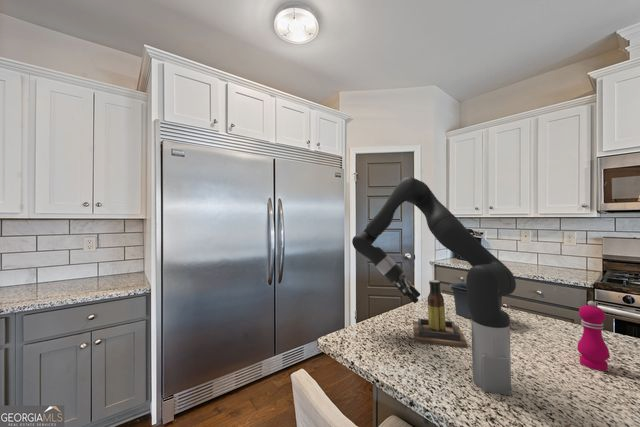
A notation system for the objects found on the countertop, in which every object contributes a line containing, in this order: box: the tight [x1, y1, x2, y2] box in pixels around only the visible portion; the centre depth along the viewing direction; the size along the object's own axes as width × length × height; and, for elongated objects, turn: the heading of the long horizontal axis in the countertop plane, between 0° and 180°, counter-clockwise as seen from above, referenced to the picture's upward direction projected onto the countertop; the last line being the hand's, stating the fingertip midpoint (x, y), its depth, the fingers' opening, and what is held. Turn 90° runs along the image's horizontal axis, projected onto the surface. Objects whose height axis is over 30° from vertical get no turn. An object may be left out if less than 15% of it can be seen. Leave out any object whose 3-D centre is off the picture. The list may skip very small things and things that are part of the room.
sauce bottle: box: [427, 279, 446, 333], centre depth 111 cm, size 6×6×20 cm
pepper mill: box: [576, 300, 610, 371], centre depth 87 cm, size 7×7×20 cm
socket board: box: [412, 318, 468, 349], centre depth 110 cm, size 18×18×4 cm
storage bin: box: [449, 281, 503, 319], centre depth 129 cm, size 21×16×14 cm
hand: (417, 298), depth 114 cm, fingers open, 8 cm apart
